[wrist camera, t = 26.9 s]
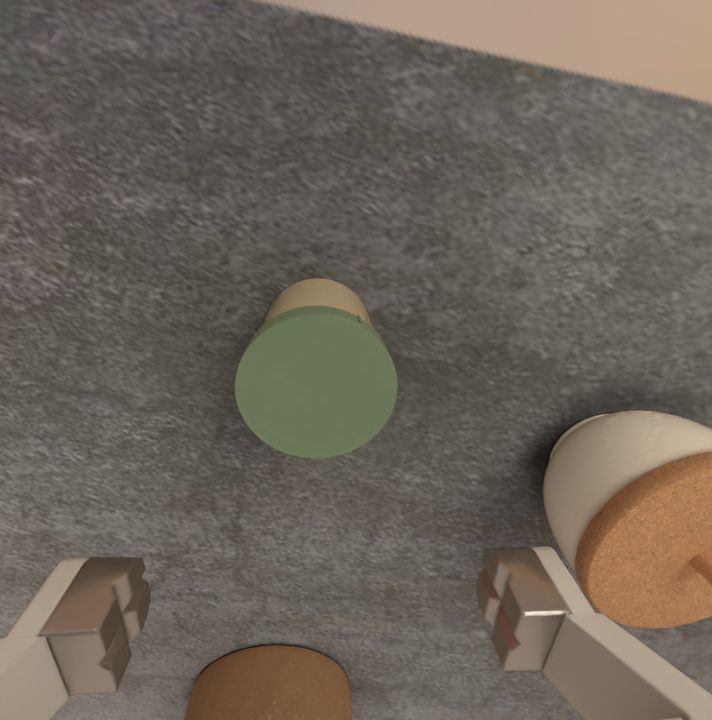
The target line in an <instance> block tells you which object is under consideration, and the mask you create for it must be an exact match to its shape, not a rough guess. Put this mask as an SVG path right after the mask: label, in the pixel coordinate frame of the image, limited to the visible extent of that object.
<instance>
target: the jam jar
mask: <svg viewBox="0 0 712 720" xmlns="http://www.w3.org/2000/svg"><path fill="white" fill-rule="evenodd" d="M305 306H329V307H334V308H339V309H342V310H345V311H347V312H350V313H352V314H354V315H356V316H358V315H359V316H360V317H361V319H362V320H364V321H365V322H367V323H368V324H369V325H370V326H371V327H372V328H373V325H372V322H371V320H370V317H369V314H368V312H367V309H366V307H365V305H364V304H363V302H362V300H361V299H360V298H359V297H358V296H357V294H355V293H354V292H353V291H352V290H351V289H349V288H348V287H347V286H345V285H343V284H341V283H339V282H336V281H333V280H329V279H321V278H315V279H307V280H303V281H300V282H297V283H295V284H293V285H291V286H289V287H288V288H286V289H285V290H284V291H282V292H281V293H280V294H279V295H278V296H277V298H276V299H275V300H274V302H273V303H272V305H271V307H270V309H269V312H268V314H267V316H266V319H265V321H264V323H263V325H264V324H265V323H266V322H268V321H269V320H271V319H272V318H274V317H275V316H277V315H279V314H281V313H283V312H286V311H288V310H292V309H295V308H299V307H305ZM373 329H374V328H373Z"/></svg>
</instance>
